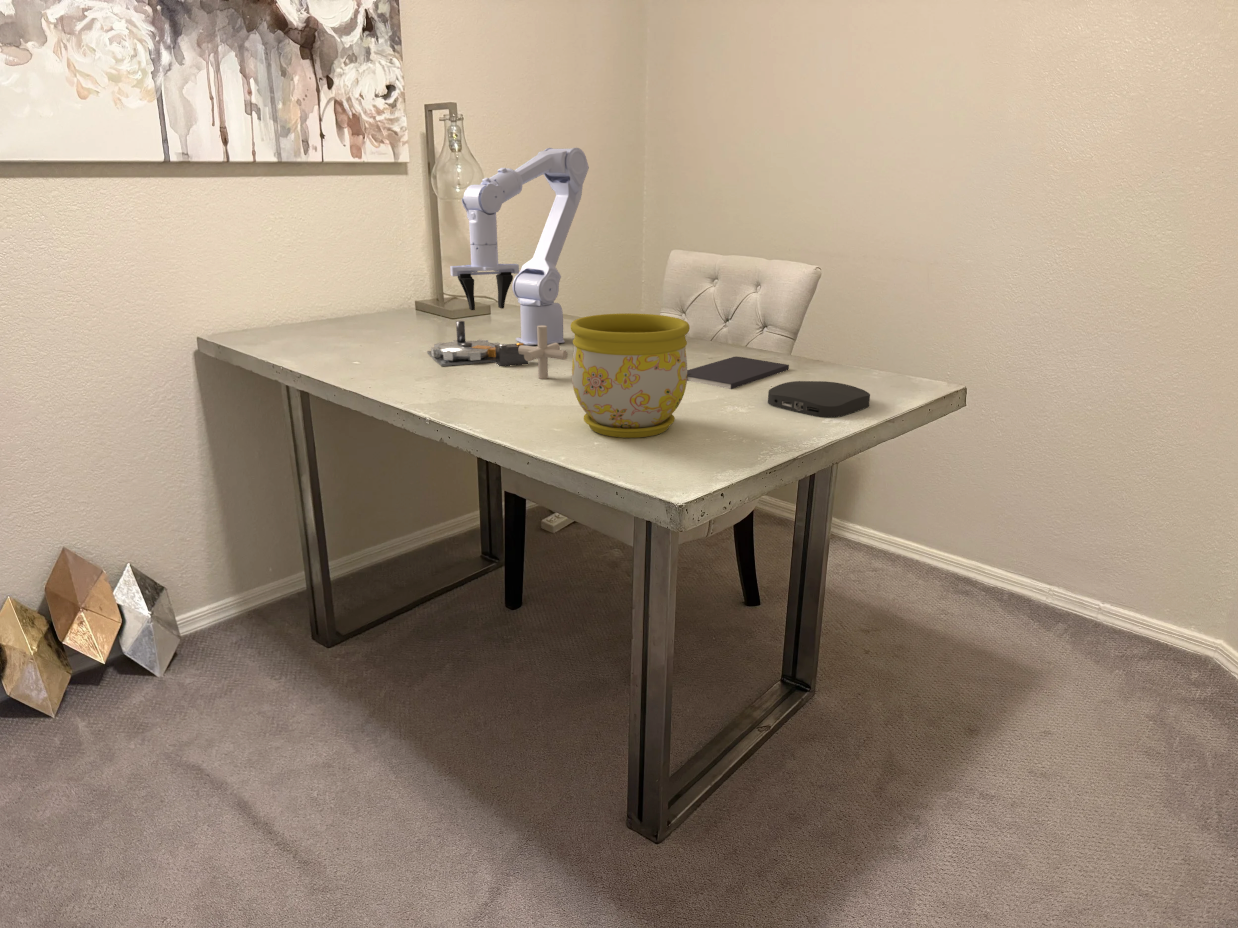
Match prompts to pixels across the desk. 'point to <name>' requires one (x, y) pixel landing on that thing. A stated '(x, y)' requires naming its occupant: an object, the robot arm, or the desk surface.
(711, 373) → the notebook
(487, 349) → the sprocket
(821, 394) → the media streaming box
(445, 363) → the plate
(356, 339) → the desk surface
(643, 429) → the flowerpot
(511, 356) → the two-button control panel
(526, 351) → the pipe connector
